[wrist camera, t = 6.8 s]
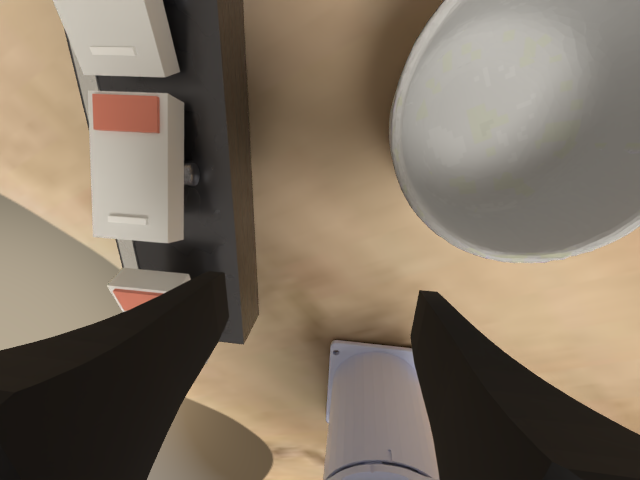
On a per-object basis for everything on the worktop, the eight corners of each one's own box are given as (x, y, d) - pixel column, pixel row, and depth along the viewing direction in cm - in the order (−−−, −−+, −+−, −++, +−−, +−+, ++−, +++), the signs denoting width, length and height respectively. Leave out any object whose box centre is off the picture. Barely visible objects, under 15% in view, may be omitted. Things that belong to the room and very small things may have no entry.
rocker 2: (183, 239, 16) (165, 243, 15) (114, 233, 17) (89, 237, 15) (184, 102, 15) (164, 91, 14) (110, 99, 16) (84, 88, 14)
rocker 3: (214, 345, 22) (205, 366, 20) (161, 339, 22) (148, 359, 21) (188, 273, 17) (174, 295, 16) (122, 267, 18) (104, 288, 16)
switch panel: (258, 314, 25) (237, 356, 21) (165, 304, 26) (126, 343, 21) (238, -77, 16) (192, -149, 11) (93, -74, 16) (-3, -140, 12)
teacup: (375, 206, 20) (383, 260, 13) (385, 8, 16) (406, -76, 9) (606, 209, 19) (764, 273, 11) (683, -10, 15) (1013, -133, 7)
